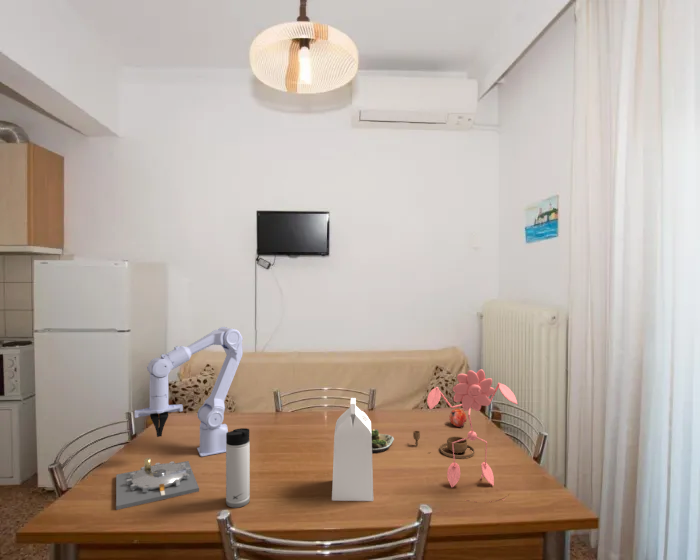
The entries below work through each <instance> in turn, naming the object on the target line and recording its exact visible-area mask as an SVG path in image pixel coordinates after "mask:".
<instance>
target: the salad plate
mask: <svg viewBox="0 0 700 560" xmlns="http://www.w3.org/2000/svg"><path fill="white" fill-rule="evenodd" d="M371 434H372V454H375V453H376V454H377V453H383V452H385V451H387V450H389V449H390V447H391V445H393V442H394V441H395V438H394V436H392V435H390V434H386V433H384V434H383V433H379V429H377V428H373V429H371Z"/></svg>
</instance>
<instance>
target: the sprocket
mask: <svg viewBox="0 0 700 560" xmlns="http://www.w3.org/2000/svg"><path fill="white" fill-rule="evenodd" d="M143 462H144V464H143V465H144V466H142V467H140V469H139V470H140V471H138V470H137V471H138V472H137V473H131V474H130V478H132V479H127V485H130V490H135V489H141V490H143V492H148V491H149V490H156V489H159V490H160V491H163V490H164V488H166V487H170V486H172V485H175V486H178V485H180V481H182V480H183V479H188V478H189V474H188V473H191V469H192V467H191V468H190V467H189V468H186V464H185V463H182V464H175V463H176V462H175V461H170V462H168V463H160V462H156V463H155V464H153V465H152V459H151V457H146V458H144V461H143ZM131 484H132V485H131Z"/></svg>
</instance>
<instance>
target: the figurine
mask: <svg viewBox="0 0 700 560" xmlns="http://www.w3.org/2000/svg"><path fill="white" fill-rule="evenodd" d="M466 373H467V374H466ZM466 373H459V374H457V376H456V379H457V382H459V383H457V384H456V385H454V386H453V387H452V391H453V392H454V396H453V402H455V403H460V402H461V404H456V405H453V406H452V404H451V403H450V402H449V401H448V399H447V398H446V397H445V396H444V394H443V392H441V390H440V389H439V387H438V386H436V387H435V388H432V389H431V391H429V393H428V395H427V399H426V403H427V405H428V408H429V410H432V409H433V408H435V407H436V406H437V405H438V404H439V402H440V400H441V398H443V399H444V401H445V402H446V404H447V406H449V407H450V408H451V409H452V410H453V409H457V408H460V407H462V410H463V411H464V412H468V413H467V417H468V418H467V419H468V422H469V426H470V431H468V432H467V437H463V438H464V439H461V440H458V441H455V442H453V443H456V442H459V441H462V440H465V439H466V440H469V441H475V440H477V439H478V440H479V441H482V442H484V443H485V455H484V456H485V457H484V461H483V462H481V464H480V465H481V466H480V467H481V475H480V479H481V478H485V481H487V482H488V484H490V485H491V486H493V487H494V485H495V484H494V483H495V477H494V471H493V470H492V468H491V466H490V465H489V464H488V463H487V453H488V441H487V440H485V439H482V438H480V437H478V434H477V432H476V431H474V429H473V424H472V418H471V410H474V411H475V412H479V411H481V409H482V406H484V407H486V406H487V407H490V405H491V403H492V401H493V398H494V396H495V394H496V393H497V391H498V390H499V391H500V393H501V395H502V396H503V397H504V398H505V399H506V400H508V401H509V402H510V403H513V404H515V405H518V400H517V398H516V395H515V393H514V392H513V391H512V390H511V389H510V387H508V386H507V385H505V384H504V383H501V382H498V383H497V385H496V387H495V388H494V387H491V386H492V384H493V378H491V377H489V378H486V374H485V371H484V370H483V369H478V371H477V372H475V371H474V370H468V371H467V372H466ZM489 397H490V398H489ZM471 408H472V409H471ZM453 443H452V447H453V453H452V454H453V462H451V463H450V465H449V466H448V469H447V472H446V476H447V477H446V478H447V480H448V483H449V486H450V487H451V488H454V487H455V486H456V484H457V483H458V482H459V481H460V479H461V468H460V465H459V464H458V463H457V462H456V458H455V456H454V455H455V454H454V444H453ZM507 497H508V495H506V496H505V497H503V498H500V499H497V500H496V502H497V501H501V500H505V499H506V498H507ZM465 500H466V499H465ZM466 501H467V502H469V500H466ZM473 501H474V500H473ZM492 501H493V500H492ZM492 501H490V503H493V502H492ZM473 503H476V501H474V502H473Z"/></svg>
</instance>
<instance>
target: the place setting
mask: <svg viewBox="0 0 700 560" xmlns="http://www.w3.org/2000/svg"><path fill="white" fill-rule="evenodd" d="M412 433H413V434H412V435H413V436H412V437H413V440H415V442H414V444H415V447H416V448H418V447H419V440H420V439H421V431H419V430H414V431H413V432H412ZM464 438H465V437H461V436H449V437H447V438H446V442H445V443H442V444H441V445H440V446H439V451H440V453H443V455H444V456H446V457H448V456H449V457H448V458H452V457H453V453H452V452H453V447H452V443H453V442H455V441H458V440H461V439H464ZM453 444H454V453H457V454H454V456H455V459H459V458H463V459H467V458H466V457H469V458H471V457H470V456H472V455H473V454H474V455H475V452H476V451H475V449H474V448H475V447H474V448H473V446H472V445H469V444H468V439H465V440H462V441H459V442H456V443H453ZM467 444H468V445H467ZM446 446H447V447H446ZM444 447H445V448H448V450H449V451H452V452H451V453H449V452H446V451H444V449H445V448H444ZM443 448H444V449H443ZM467 448H470V449H471V450H472V451H473V453H472V452H470V453H469V454H463V453H464V452H467V450H468V449H467ZM442 449H443V450H442ZM462 452H463V453H462ZM431 453H432V452H427V454H428V455H429V454H431ZM458 453H462V454H458ZM474 455H473V456H474ZM473 456H472V457H473Z"/></svg>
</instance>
